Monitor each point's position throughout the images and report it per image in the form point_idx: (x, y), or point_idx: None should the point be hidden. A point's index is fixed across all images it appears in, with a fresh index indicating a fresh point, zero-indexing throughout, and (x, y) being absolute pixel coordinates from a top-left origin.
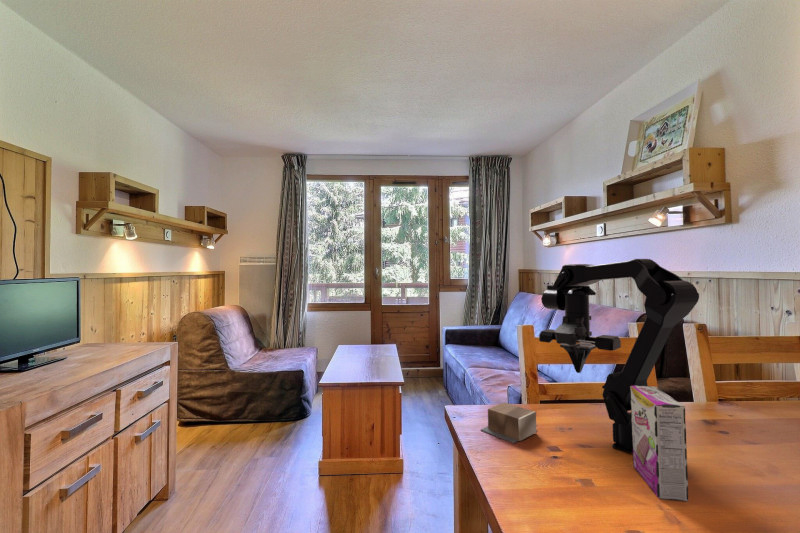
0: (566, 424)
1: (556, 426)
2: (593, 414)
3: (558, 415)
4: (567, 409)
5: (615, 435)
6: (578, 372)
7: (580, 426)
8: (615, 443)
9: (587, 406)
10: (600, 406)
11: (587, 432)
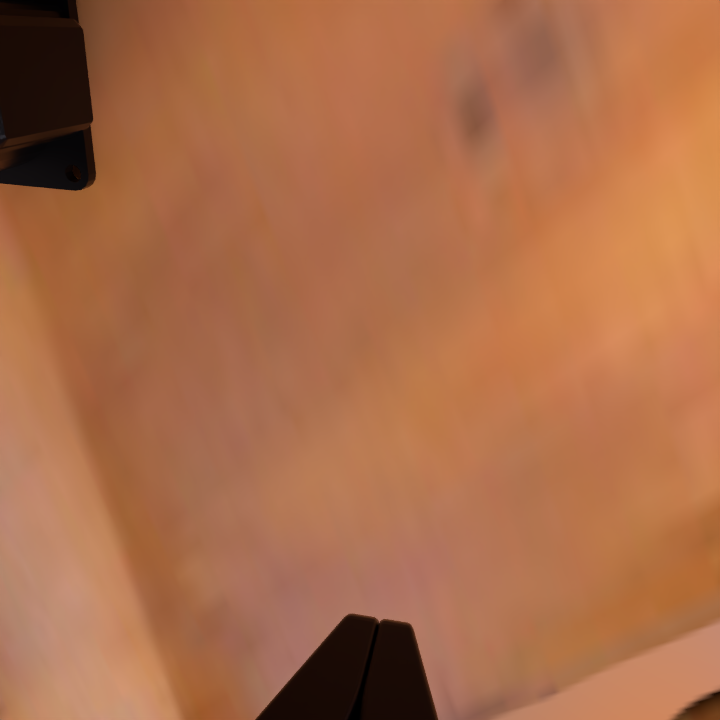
0: (533, 191)
1: (596, 73)
2: (429, 528)
3: (660, 355)
4: (630, 526)
5: (17, 4)
6: (362, 616)
7: (420, 229)
8: (58, 2)
9: (516, 650)
10: (442, 687)
11: (330, 136)
